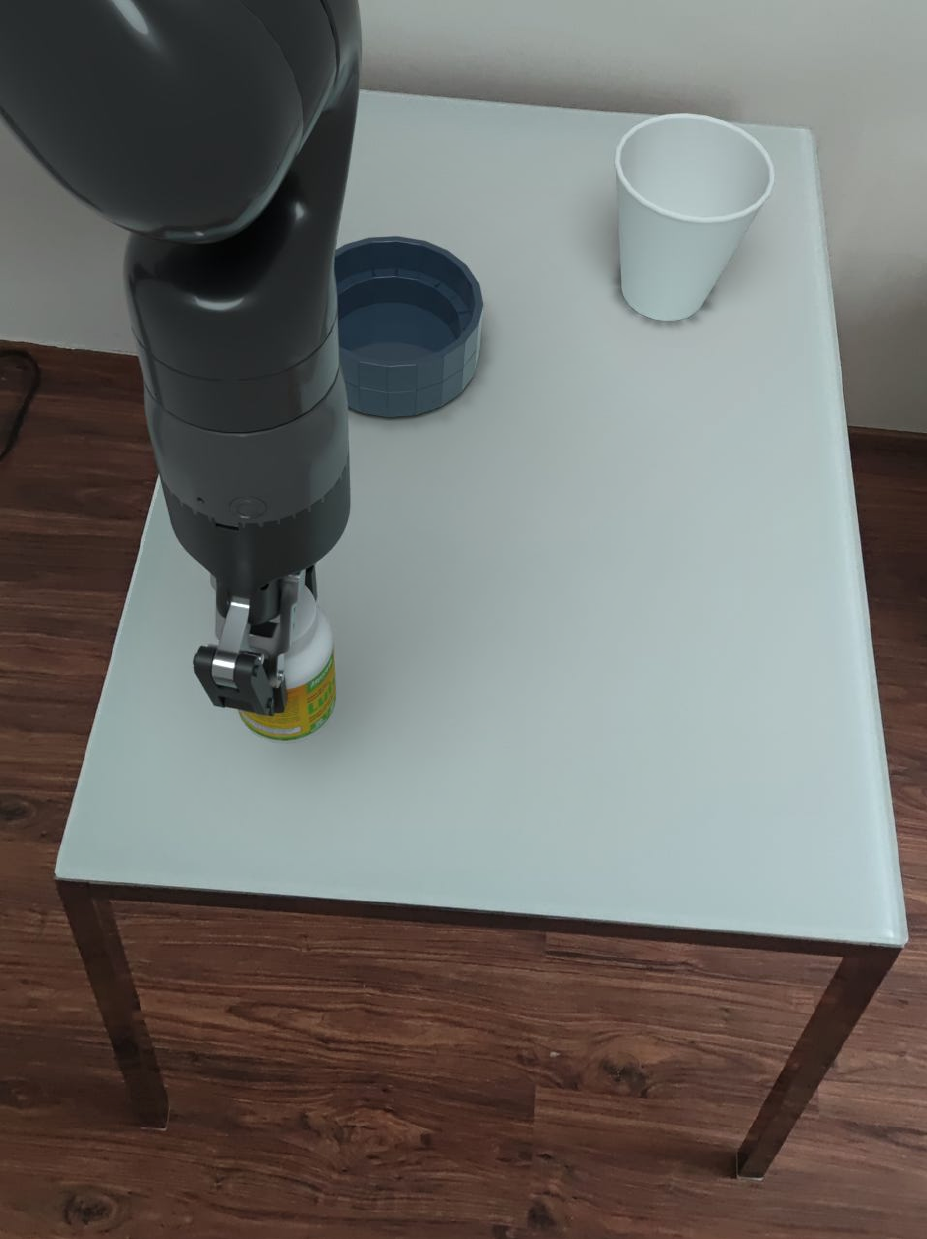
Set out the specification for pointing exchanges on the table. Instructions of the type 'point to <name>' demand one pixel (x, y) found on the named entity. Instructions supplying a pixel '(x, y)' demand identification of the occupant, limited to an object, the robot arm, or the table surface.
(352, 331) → the bowl
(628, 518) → the table surface
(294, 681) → the supplement bottle
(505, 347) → the table surface
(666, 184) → the cup
